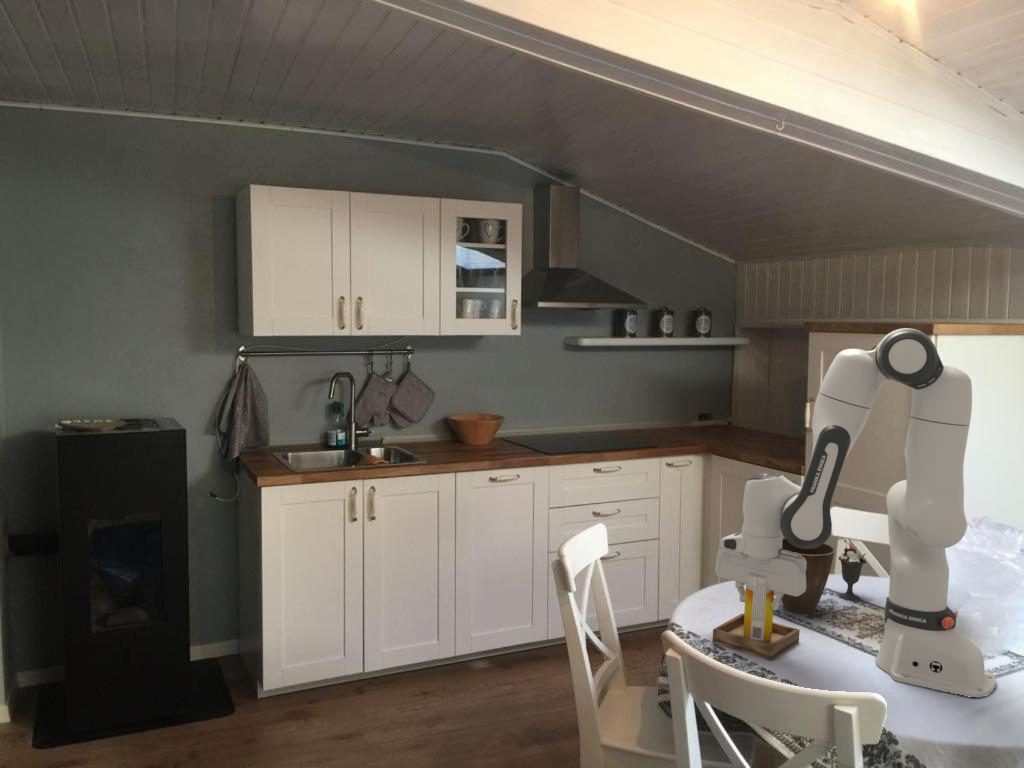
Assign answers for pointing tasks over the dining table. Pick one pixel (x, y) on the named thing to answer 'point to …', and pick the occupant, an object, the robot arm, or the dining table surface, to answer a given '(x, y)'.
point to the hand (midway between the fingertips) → (758, 605)
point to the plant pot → (810, 577)
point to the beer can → (758, 609)
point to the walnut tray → (735, 639)
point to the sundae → (851, 570)
